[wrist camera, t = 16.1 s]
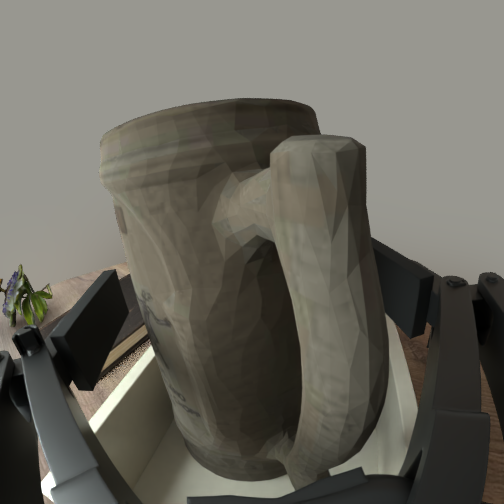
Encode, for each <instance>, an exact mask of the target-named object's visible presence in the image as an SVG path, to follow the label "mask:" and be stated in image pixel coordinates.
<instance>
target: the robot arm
mask: <svg viewBox="0 0 504 504" xmlns="http://www.w3.org/2000/svg"><path fill="white" fill-rule="evenodd" d="M371 241H372V246H373V251H374V256H375V260H376V265H377V270H378V276H379V281H380V287H381V292H382V298H383V304H384V310H385V313H386V314H387V315H388V316H389V317H390V318H391V319H392V320H393V321H394V323H395V324H396V325H397V326H398V327H399V328H400V329H401V330H402V331H403V332H404V333H405V334H406V335H407V336H408V337H409V338H410V339H411V338H414V337H417V336H420V335H422V334H424V331H425V327H426V322H428V323H429V324H430V325H431V326H432V328H431V332H430V336H429V340H428V344H427V348H429V349H428V357H427V364H426V371H425V377H424V383H423V388H422V394H421V399H420V403H419V408H418V413H417V417H416V421H415V425H414V429H413V433H412V436H411V440H410V444H409V447H408V450H407V454H406V457H405V460H404V463H403V465H402V467H401V469H400V472H399V474H398V475H390V474H369V475H365V473H364V471H363V469H362V466H361V467H358V468H355V469H352V470H349V471H346V472H343V473H339V474H336V475H333V476H329V477H326V478H322V479H319V480H317V481H315V482H313V483H311V484H309V485H307V486H305V487H303V488H301V489H298V490H296V491H294V492H292V493H289V494H287V495H284V496H282V497H279V498H259V497H246V496H236V495H220V496H196V497H187V504H491V503H487V502H482V497H483V492H484V486H485V480H486V473H487V465H488V455H489V443H490V415H489V414H488V413H484V412H481V372H480V362H481V365H482V367H483V370H484V373H485V376H486V379H487V382H488V385H489V388H490V391H491V394H492V397H493V401H494V404H495V407H496V411H497V415H498V419H499V423H500V427H501V431H502V435H503V440H504V279H503V278H502V277H500V276H499V275H497V274H496V273H493V272H490V273H482V274H480V276H479V280H478V284H475V285H468V282H467V281H466V280H464V279H463V278H460V277H457V276H446V277H443V278H442V277H441V276H439V275H437V274H436V273H434V272H432V271H431V270H428V268H426V267H425V266H424V267H423V265H421V264H420V263H418V262H416V261H413V260H410V259H408V258H406V257H404V256H403V255H401V254H400V253H398V252H396V251H394V250H393V249H391V248H389V247H388V246H386V245H384V244H382V243H381V242H379V241H377V240H376V239H374V238H372V237H371ZM128 314H129V310H128V307H127V304H126V301H125V298H124V295H123V292H122V289H121V286H120V282H119V279H118V276H117V272H116V269H114V270H107V271H104V272H103V273H102V274H101V275H100V276H99V277H98V278H97V279H96V281H95V282H94V283H93V284H92V285H91V286H90V287H89V289H88V290H87V291H86V292H85V293H84V294H83V296H82V297H81V298H80V299H79V300H78V301H77V303H76V304H75V305H74V306H73V308H72V309H71V310H70V311H69V312H68V314H67V315H66V316H65V317H63V318H62V319H61V320H60V321H59V323H58V324H57V326H56V327H55V328H54V329H53V331H52V332H51V333H50V334H49V335H48V337H47V338H46V339H45V341H44V339H43V337H42V335H41V333H40V331H39V329H38V327H37V325H34V324H32V325H27V326H24V327H22V328H21V329H19V330H18V331H16V332H15V333H14V335H13V337H12V340H13V342H14V344H15V346H16V348H17V350H18V351H19V353H20V355H21V358H19V359H15V360H13V359H12V358H11V356H10V354H9V352H8V351H0V504H44V499H43V493H42V486H41V478H40V469H39V456H38V437H39V440H40V444H41V447H42V450H43V453H44V455H45V458H46V461H47V464H48V466H49V469H50V471H51V474H52V476H53V479H54V481H55V484H56V486H55V487H52V488H51V489H50V493H51V497H52V499H53V502H54V504H143V503H142V502H141V501H140V499H139V498H138V497H137V496H136V494H135V493H134V492H133V491H132V489H131V488H130V487H129V485H128V484H127V483H126V481H125V480H124V478H123V477H122V476H121V474H120V473H119V471H118V470H117V469H116V467H115V466H114V464H113V463H112V461H111V460H110V458H109V457H108V455H107V453H106V452H105V450H104V449H103V447H102V445H101V444H100V442H99V440H98V439H97V437H96V435H95V434H94V432H93V430H92V428H91V426H90V425H89V423H88V421H87V419H86V417H85V415H84V413H83V411H82V410H81V408H80V406H79V404H78V402H77V399H76V397H75V395H74V393H73V391H72V390H71V388H70V387H69V386H70V384H71V382H72V380H73V382H74V384H75V385H76V387H77V388H78V390H82V391H93V390H94V387H95V385H96V383H97V380H98V378H99V376H100V373H101V371H102V369H103V367H104V364H105V362H106V360H107V358H108V356H109V353H110V351H111V349H112V347H113V345H114V343H115V341H116V338H117V336H118V334H119V332H120V330H121V328H122V326H123V324H124V322H125V320H126V318H127V316H128Z"/></svg>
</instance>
